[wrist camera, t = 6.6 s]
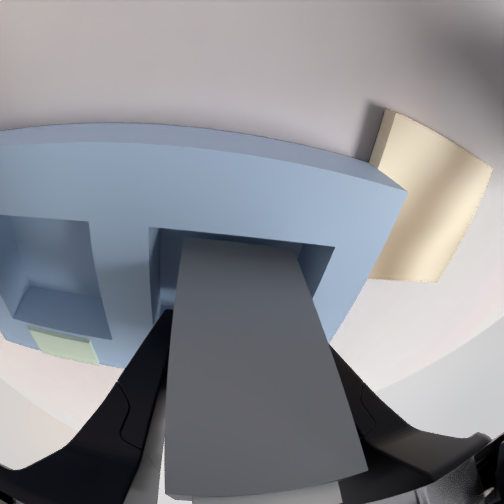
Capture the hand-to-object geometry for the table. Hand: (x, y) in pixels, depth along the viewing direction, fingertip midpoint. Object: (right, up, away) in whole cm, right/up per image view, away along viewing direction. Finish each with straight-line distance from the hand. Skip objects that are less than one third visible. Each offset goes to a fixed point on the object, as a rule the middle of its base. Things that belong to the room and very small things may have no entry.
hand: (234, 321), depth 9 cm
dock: (-4, +3, +2) cm, 6 cm away
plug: (0, +1, +2) cm, 2 cm away
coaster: (+9, +5, +3) cm, 10 cm away
